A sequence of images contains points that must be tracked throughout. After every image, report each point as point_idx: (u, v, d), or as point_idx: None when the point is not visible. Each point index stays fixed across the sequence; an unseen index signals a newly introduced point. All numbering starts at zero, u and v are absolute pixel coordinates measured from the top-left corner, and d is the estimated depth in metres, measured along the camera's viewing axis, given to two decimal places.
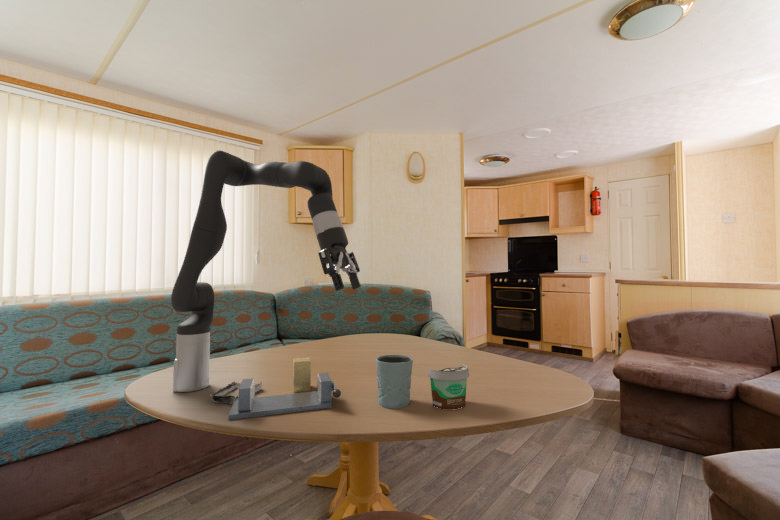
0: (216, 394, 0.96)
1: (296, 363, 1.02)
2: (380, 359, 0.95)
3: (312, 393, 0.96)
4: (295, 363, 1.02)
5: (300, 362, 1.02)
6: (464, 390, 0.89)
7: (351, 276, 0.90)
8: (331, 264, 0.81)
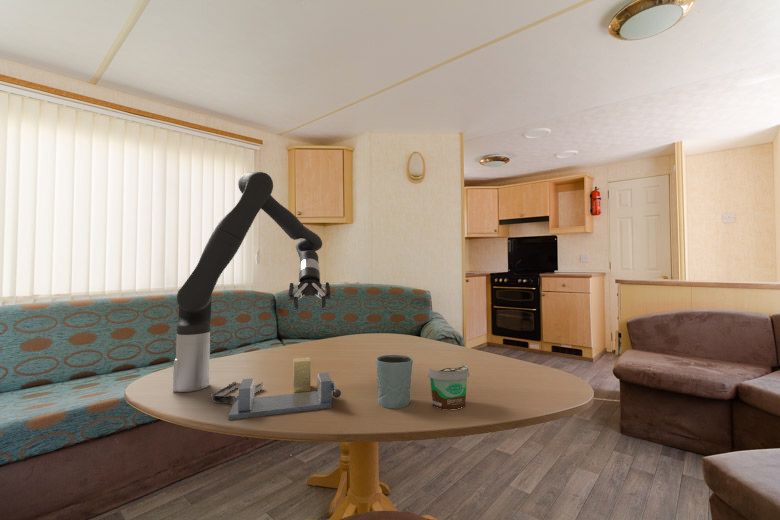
0: (217, 394, 0.96)
1: (296, 363, 1.02)
2: (380, 359, 0.95)
3: (312, 393, 0.96)
4: (295, 363, 1.02)
5: (300, 362, 1.02)
6: (464, 390, 0.89)
7: None
8: None
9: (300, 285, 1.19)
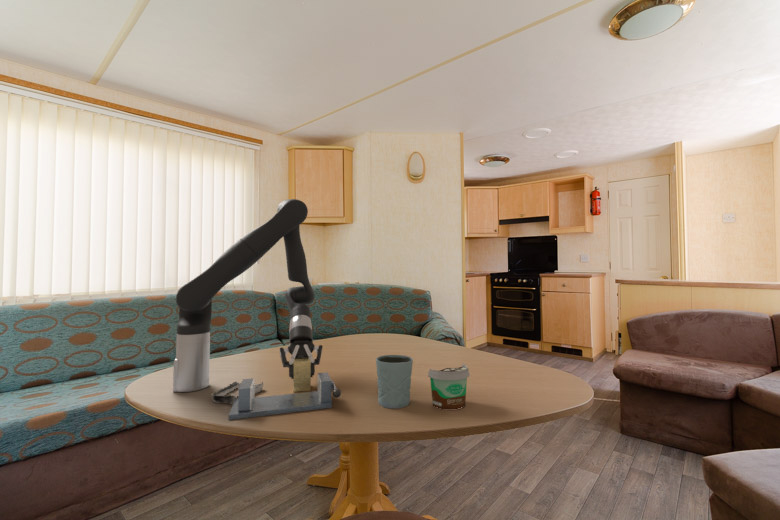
0: (217, 394, 0.96)
1: (296, 363, 1.02)
2: (380, 359, 0.95)
3: (312, 393, 0.96)
4: (295, 363, 1.02)
5: (300, 362, 1.02)
6: (464, 390, 0.89)
7: None
8: None
9: (291, 347, 1.08)
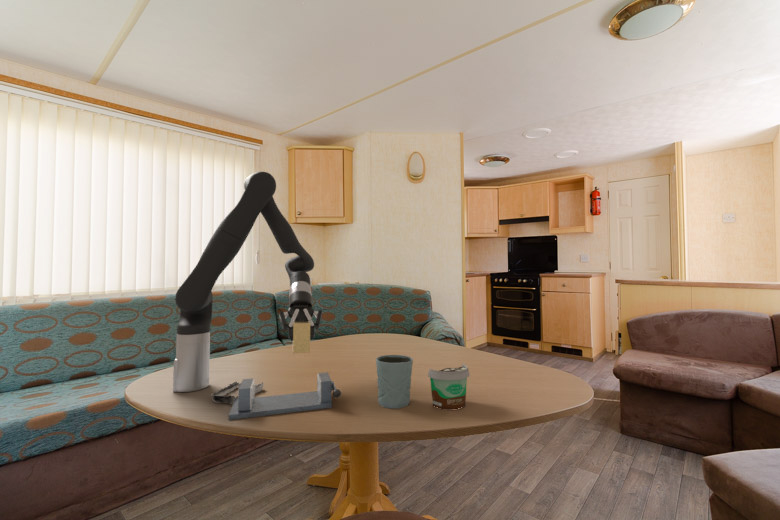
0: (217, 394, 0.96)
1: (296, 325, 1.02)
2: (380, 359, 0.95)
3: (312, 393, 0.96)
4: (294, 325, 1.02)
5: (300, 324, 1.03)
6: (464, 390, 0.89)
7: None
8: None
9: (291, 311, 1.09)
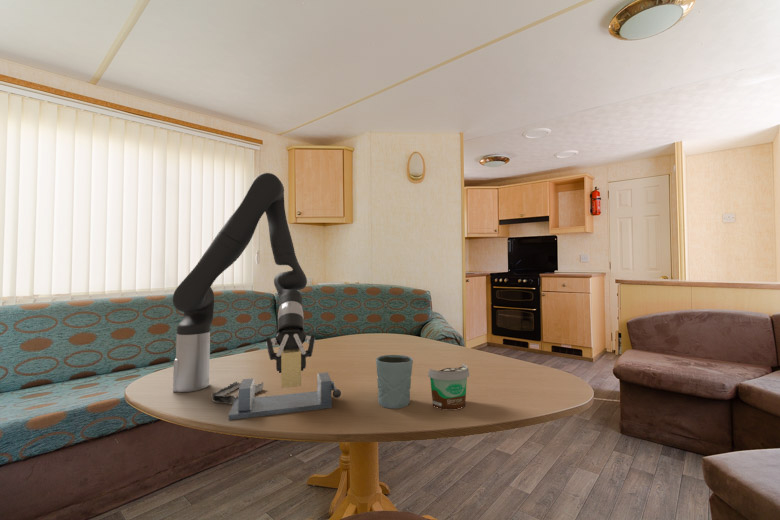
0: (217, 394, 0.96)
1: (284, 354, 0.89)
2: (380, 359, 0.95)
3: (312, 393, 0.96)
4: (283, 355, 0.89)
5: (289, 353, 0.89)
6: (464, 390, 0.89)
7: None
8: None
9: (279, 337, 0.95)
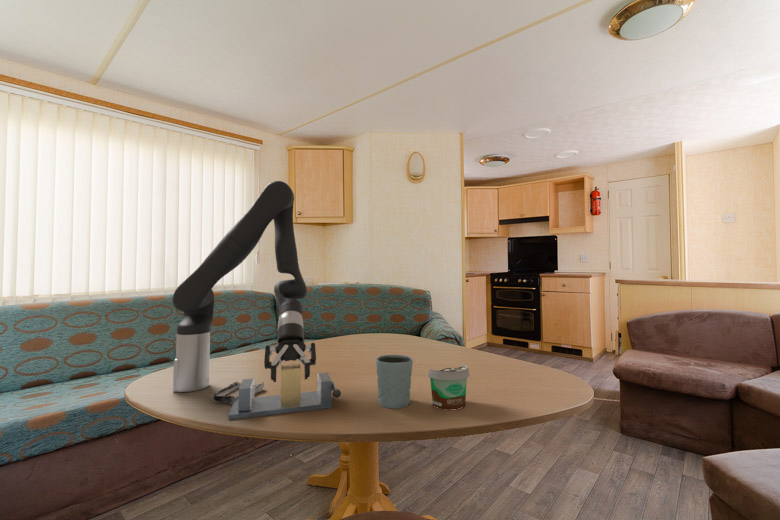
0: (217, 394, 0.96)
1: (284, 371, 0.89)
2: (380, 359, 0.95)
3: (312, 393, 0.96)
4: (282, 371, 0.89)
5: (288, 370, 0.89)
6: (464, 390, 0.89)
7: None
8: None
9: (279, 348, 0.95)
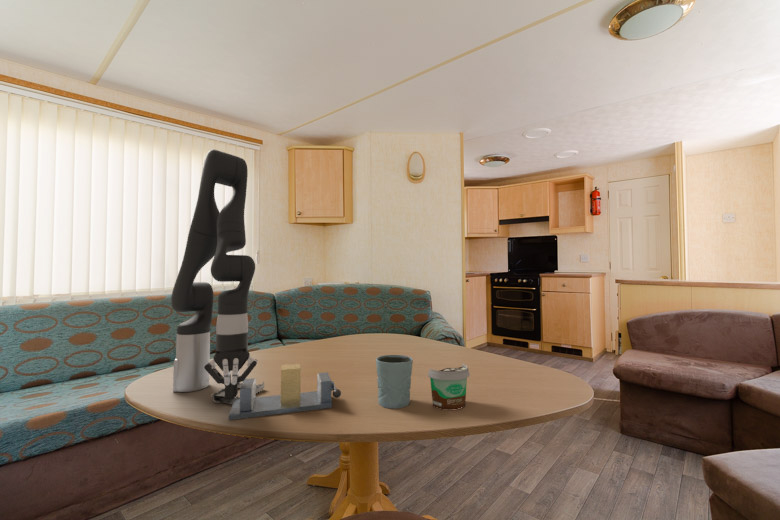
0: (218, 394, 0.96)
1: (284, 371, 0.89)
2: (380, 359, 0.95)
3: (312, 393, 0.96)
4: (282, 371, 0.89)
5: (288, 370, 0.89)
6: (464, 390, 0.89)
7: (232, 384, 0.87)
8: (216, 378, 0.85)
9: None
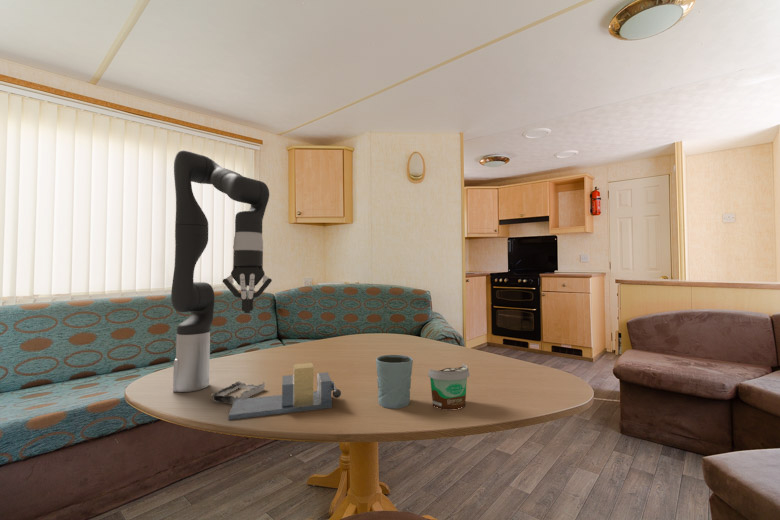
0: (218, 394, 0.96)
1: (297, 370, 0.90)
2: (380, 359, 0.95)
3: None
4: (295, 370, 0.90)
5: (301, 369, 0.90)
6: (464, 390, 0.89)
7: None
8: (233, 292, 0.90)
9: None
